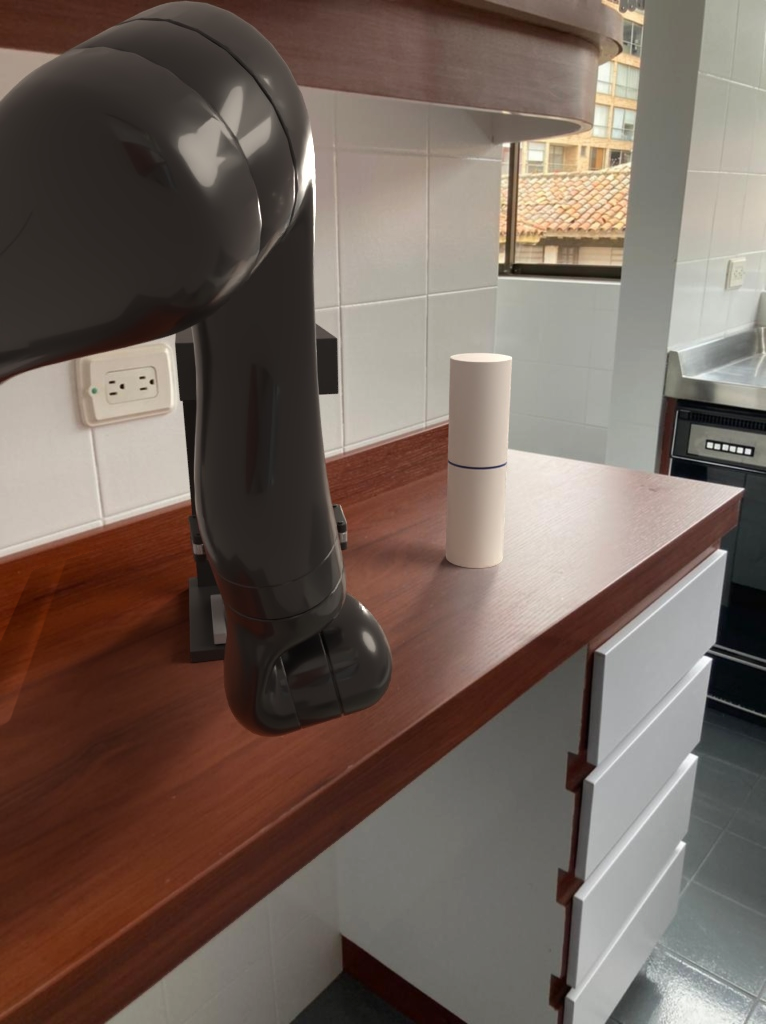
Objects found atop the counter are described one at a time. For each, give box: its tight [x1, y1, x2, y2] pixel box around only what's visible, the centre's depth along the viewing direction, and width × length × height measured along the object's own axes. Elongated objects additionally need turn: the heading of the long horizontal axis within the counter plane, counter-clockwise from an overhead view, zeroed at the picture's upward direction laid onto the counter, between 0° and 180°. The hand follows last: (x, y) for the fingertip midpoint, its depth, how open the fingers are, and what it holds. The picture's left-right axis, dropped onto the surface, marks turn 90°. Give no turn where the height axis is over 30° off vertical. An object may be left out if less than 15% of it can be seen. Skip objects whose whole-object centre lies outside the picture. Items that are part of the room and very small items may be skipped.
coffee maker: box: [174, 323, 340, 664], centre depth 83 cm, size 16×18×30 cm
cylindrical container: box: [445, 352, 513, 569], centre depth 99 cm, size 7×7×25 cm
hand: (261, 506), depth 82 cm, fingers open, 8 cm apart
